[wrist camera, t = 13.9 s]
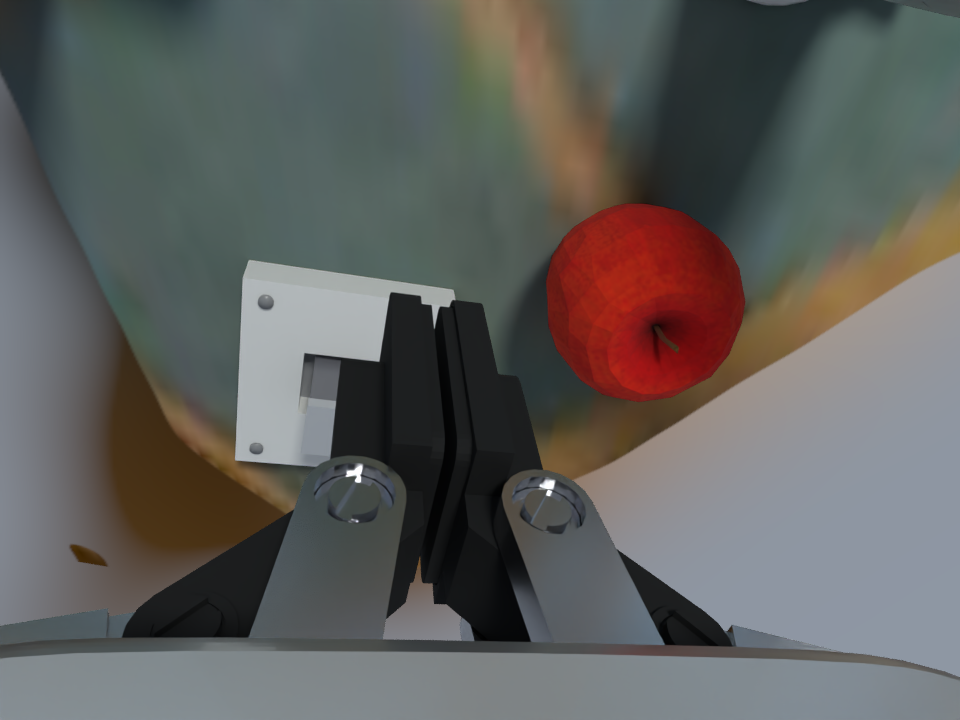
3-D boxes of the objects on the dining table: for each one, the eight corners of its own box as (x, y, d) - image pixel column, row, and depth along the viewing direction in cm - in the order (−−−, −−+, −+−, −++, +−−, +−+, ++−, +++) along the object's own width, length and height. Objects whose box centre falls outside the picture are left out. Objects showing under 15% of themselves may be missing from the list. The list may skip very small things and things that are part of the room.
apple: (631, 337, 52) (696, 455, 42) (496, 292, 49) (530, 410, 38) (718, 203, 47) (821, 300, 36) (573, 139, 43) (639, 227, 32)
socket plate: (453, 289, 48) (457, 311, 46) (414, 453, 57) (415, 479, 54) (248, 259, 45) (241, 281, 42) (240, 438, 54) (234, 464, 51)
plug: (373, 352, 50) (373, 413, 44) (364, 396, 52) (362, 459, 46) (315, 344, 49) (307, 405, 43) (309, 389, 51) (300, 453, 45)
